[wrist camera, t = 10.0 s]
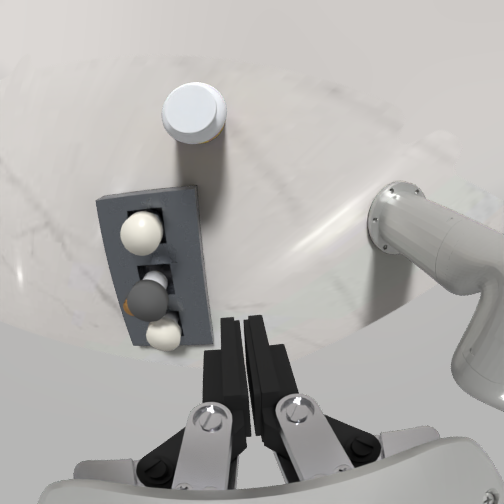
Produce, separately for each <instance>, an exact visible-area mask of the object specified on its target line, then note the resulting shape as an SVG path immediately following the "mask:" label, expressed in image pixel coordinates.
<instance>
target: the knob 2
mask: <svg viewBox="0 0 504 504" xmlns="http://www.w3.org/2000/svg"><path fill="white" fill-rule="evenodd" d="M178 320H179V314H178V312H177V311H168V312H166V313H165V315H164V316H163V317H162V318H161V319H160V320H158V321H155V322H150V324H149V326H148V330H147V333H146V338H147V341H148V343H149V344H150V345H151V346H152V347H154V348H156V349H158V350H161V351H171V350H174V349H176V348H177V347H178V346H179V344H180V338H181V328H180V326H179V325H178Z"/></svg>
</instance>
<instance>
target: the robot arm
mask: <svg viewBox="0 0 504 504" xmlns="http://www.w3.org/2000/svg"><path fill="white" fill-rule="evenodd" d="M368 229H369V234H370V237H371V239H372V241H373V242H374V244H375V245H376V246H377V247H378V248H379V249H380V250H382V251H383V252H385V253H388V254H393V255H394V254H402V255H404V256H405V257H406V258H408V259H409V260H410V261H411V262H413V263H414V264H415V265H417V266H418V267H419V268H420V269H422V270H423V271H424V272H425V273H427V274H428V275H429V276H430V277H431V278H433V279H434V280H435V281H436V282H438V283H439V284H440V285H441V286H443V287H444V288H445V289H446V290H448V291H449V292H451V293H453V294H456V295H460V296H462V295H463V296H465V295H472V294H475V293H479V292H481V296H480V300H479V303H478V305H477V307H476V310H475V313H474V315H473V317H472V319H471V321H470V323H469V325H468V327H467V329H466V331H465V333H464V334H463V336H462V338H461V340H460V343H459V344H458V346H457V348H456V350H455V352H454V355H453V358H452V362H451V371H452V375H453V378H454V379H455V381H456V383H457V384H458V385H459V387H460V388H461V389H462V390H463V391H465V392H466V393H467V394H469V395H470V396H472V397H474V398H475V399H477V400H479V401H481V402H483V403H485V404H487V405H490V406H492V407H494V408H496V409H499V410H501V411H503V412H504V234H503V233H500V232H498V231H496V230H494V229H492V228H489V227H487V226H485V225H483V224H481V223H479V222H477V221H475V220H473V219H471V218H469V217H466V216H464V215H462V214H460V213H458V212H456V211H453V210H451V209H449V208H447V207H444V206H442V205H440V204H437V203H435V202H433V201H430V200H428V199H426V197H425V195H424V193H423V192H422V191H421V189H420V188H418V187H417V186H416V185H414V184H412V183H409V182H406V181H397V182H393V183H391V184H389V185H387V186H386V187H384V188H383V189H382V190H381V191H380V192H379V193H378V195H377V196H376V198H375V199H374V201H373V203H372V205H371V208H370V212H369V217H368ZM244 337H245V353H246V367H247V376H248V383H249V391H250V398H251V405H252V412H253V419H254V427H255V434H256V436H260V435H261V438H262V442H264V446H266V447H268V448H269V449H271V450H273V452H274V456H275V458H276V461H277V463H278V466H279V468H280V470H281V473H282V476H283V478H284V481H285V483H286V484H283V485H276V486H270V487H260V488H251V489H236V486H237V475H238V464H239V454H240V453H242V452H243V451H244V450H245V449H246V448H247V443H246V437H250V436H251V425H250V410H249V397H248V388H247V380H246V372H245V364H244V355H243V347H242V339H241V330H240V322H239V320H236V321H234V317H229V318H221V350H205V351H204V365H203V403H202V404H199V405H197V406H196V407H194V408H193V409H192V411H191V412H190V414H189V416H188V420H187V424H186V427H185V428H183V429H182V430H181V431H179V432H178V433H177V434H175V435H174V436H172V437H171V438H170V439H168V440H167V441H166V442H164V443H163V444H161V445H160V446H159V447H157V448H156V449H154V450H153V451H151V452H150V453H149V454H147V455H146V456H144V457H143V458H142V459H141V460H134V461H133V460H132V459H120V460H87V461H82V462H80V463H79V464H77V466H76V467H75V469H74V479H69V480H61V481H58V482H54V483H52V484H50V485H48V486H47V487H46V488H45V490H44V491H43V492H42V494H41V496H40V499H39V501H38V504H504V482H503V480H502V478H501V476H500V474H499V472H498V471H497V469H496V467H495V465H494V464H493V462H492V460H491V459H490V457H489V456H488V454H487V453H486V452H485V451H484V449H483V448H482V447H481V446H480V445H479V444H478V443H477V442H476V441H474V440H473V439H470V438H467V437H447V438H441V439H440V435H439V433H438V431H437V430H436V429H434V428H433V427H430V426H421V427H415V428H410V429H404V430H398V431H391V432H383V433H381V434H380V435H375V436H374V435H372V434H370V433H368V432H365V431H362V430H360V429H357V428H355V427H352V426H350V425H347V424H345V423H343V422H340V421H338V420H336V419H333V418H331V417H329V416H327V415H324V414H323V412H322V411H321V409H320V407H319V405H318V403H317V402H316V401H315V400H314V399H313V398H311V397H310V396H307V395H304V394H299V392H298V389H297V386H296V383H295V379H294V376H293V373H292V369H291V366H290V362H289V359H288V356H287V352H286V349H285V346H284V344H278V345H269V343H268V339H267V335H266V330H265V326H264V322H263V318H262V315H254V316H248V320H244Z"/></svg>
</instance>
